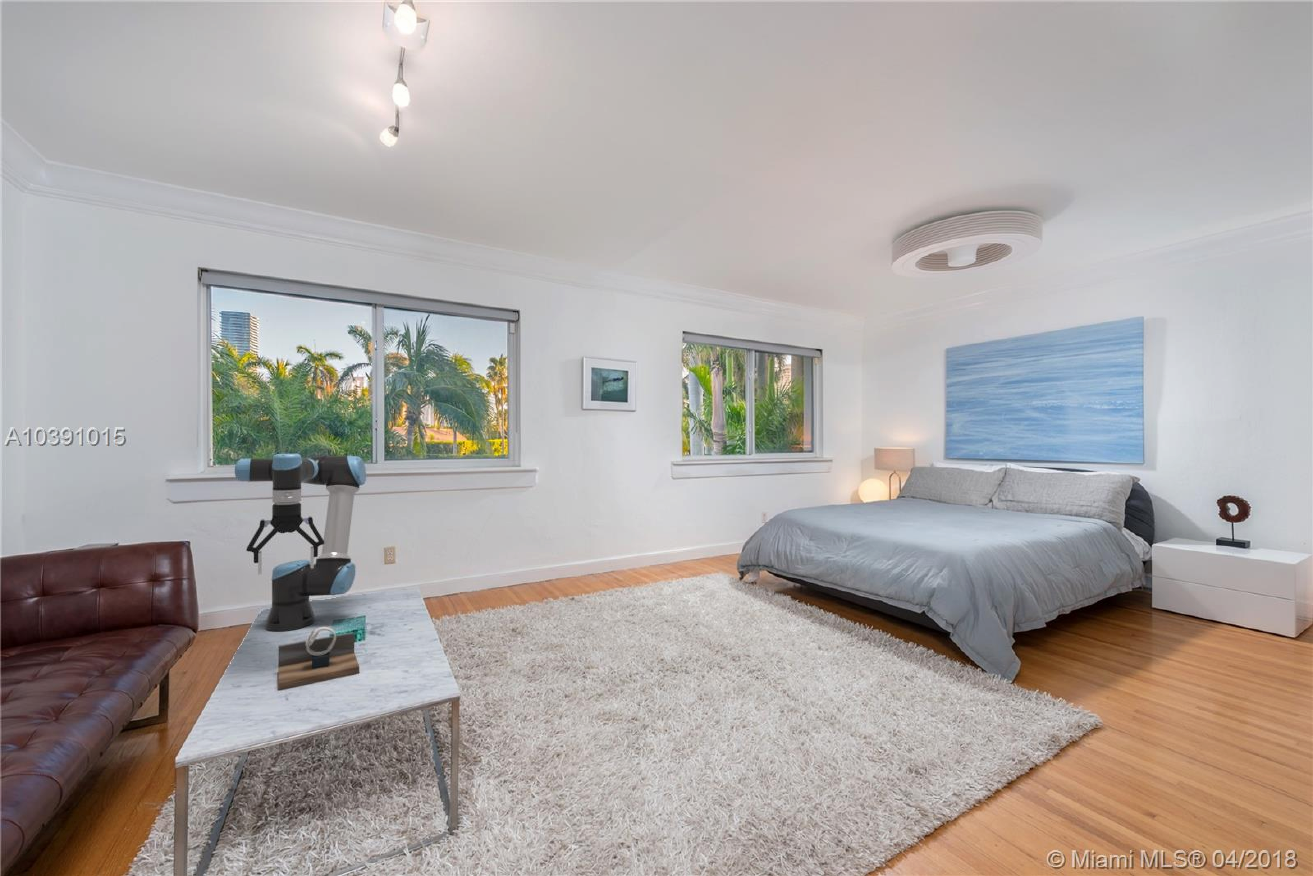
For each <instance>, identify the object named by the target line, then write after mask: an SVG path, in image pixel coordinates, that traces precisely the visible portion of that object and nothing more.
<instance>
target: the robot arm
mask: <svg viewBox="0 0 1313 876" xmlns="http://www.w3.org/2000/svg"><path fill="white" fill-rule="evenodd" d="M366 471H367V469H366V466H365V463H364V460H363V459H362V458H361V457H360V456H357V455H356V456H355V455H353V456H352V455H318V456H317V455H315V456H308V457H302V456H301V454H299V453H277V454H274V455H273V456H272V458H251V457H250V458H241V459H238V461H236V463H235V465H234V477H235V478H236V479H237V480H238V481H240V482H248V483H251V482H252V483H253V482H256V483H257V482H272V495H271V496H272V499H271V500H272V503H273V505H272V509H271V510H272V512H271V513H272V514H271V515H272V516H271V520H270V519H268V520H266V519H263V518H262V519H260V521H259V527H258V528H257V529H256V532H255V533H254V535H253V537H252V538H251V539H250V542H249V544H248V545H247V546H246V552H248V553H249V552H250V553H253V563H254V564H257V566H258V568H257V570H258V571H257V572H258V573H257V575H262V560H263V557H262V552H263V551H261V550H262V549H263V547H265V545H267V544H268V542H269V541H270V540H271V539H272V538H273V537H274V536H275V535H276V534H277V533H279V534H285V533H289V534H290V533H294V532H297V533H298V534H299V535H301V537H303V538H304V539H305V540H306V541H307V542H308V543H309V544H310V545H311V546H310V555H309V556H310V557H309V558H310V560H309V559H297V560H293V561H289V562H285V563H282V564H278V565H276V566H274V568H273V569H272V572H271V573H272V574H271V607H270V610H269V613H268V616H267V618H266V622H265V629H266V630H267V631H271V632H287V631H295V630H298V629H302V628H305V627H308V626H310V625H312V624H314V622H315V613H314V610H313V608H312V605H311V603H310V597H316V596H319V597H320V596H321V597H323V596H333V597H334V596H338V595H345V594H347V593H348V592H349V590H350V589H351V588H352V586H353V584H354V580H355V577H356V564H355V563H353V562H352V558H351V557H350V556H349V555H348V551H349V543H350V533H351V524H352V516H353V508H354V499H355V494H356V493H357V492H359V491H360V486H364V485H365V483H366V481H367V472H366ZM302 483H303V484H309V485H315V486H316V485H317V486H325V490H326V491H328V492H329V494H328V495H329V496H328V502H327V510H326V519H325V525H324V526H325V527H324V532H323V537H322V535H321V533H320V532H319V531H318V529H317V527H316V526H315V524H314V519H313V516H311V515H309V516H307V517H302V503H301V502H302ZM303 522H304V523H305V525H308V526H309V529H310V530H311V531H312V533H313V534H314V536H315V538H316V539H317V541H315V539H313V538H312V537H311V536H310V535H309V534H308V533H307V532H306V531H305V530H304V529H303V528H302V527H301V525H302V523H303ZM268 525H271V526H272V527H273V528H272V529H271V531H270V532H269V533H268V534H267V535H266V536H265V537H264V538H263V539H262V540H261V541H260V542H259V543H258V544H257V545H256V547H254V546H255V544H256V543H257V541H258V540H259V538H260V536H261V534H262V533H263V531H264V528H267V527H268ZM320 546H321V547H322V549H321V553H320V555H319V547H320ZM318 555H319V556H318ZM315 558H316V559H315Z"/></svg>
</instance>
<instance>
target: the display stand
mask: <svg viewBox="0 0 1313 876" xmlns="http://www.w3.org/2000/svg"><path fill="white" fill-rule="evenodd" d="M333 637H334V635H332V636H326V637H320V638H316V639H315V640H314V642H313V643H312V645H311V646H309V648H310V649H311V650H312V651H314V652H317V651H323V650H327V649H328V647H329V646H330V644H331V643H332V640H333ZM306 641H307V640H303V641H298V642H291V643H287V644H285V643H284V644H281V645H280V644H279V645H278V654H277V655H278V657H277V658H278V659H277V660H278V662H277V663H278V665H277V666H278V667H277V669H278V670H277V671H278V672H277V673H278V678H277V679H278V680H277V681H278V691H281V690H287V689H292V688H296V687H300V686H305V685H310V684H315V683H319V682H324V681H330V680H333V679H339V678H343V677H348V676H352V675H353V676H354V675H357V673H358V674H360V664H359V662H358V658H357V656H356V653H355V632H350V633H343V634H338V635H337V634H336V641H335V644H334V646H333V647H332V649H331V650H330V661H329V666H328V667H322V668H316V669H312V656H313V655H312V654H310V653H309V652H308V651H307V649H306V647H307V645H306V646H305V643H306Z"/></svg>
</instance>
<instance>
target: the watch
mask: <svg viewBox="0 0 1313 876" xmlns="http://www.w3.org/2000/svg"><path fill="white" fill-rule="evenodd" d="M321 631H328V632H331V633H332V636H334V637H333V640H332V643H331V644H330V646H329V647H328V649H327V650H323V651H317V652H314V651H312V650H311V649H310V648H309V646H311V645H312V643H313V642H314V640H315V639H317V637H318V635H319V633H320V632H321ZM336 635H337V634H336V632H335V630H334V629H332V628H331V627H329V626H319V627H317V628H316V629H315V628H314V629H313V630H312V632H311V633H310V634H309V635H308V638H307V640H305V641H306V643H305V646H306V645H307V647H306V649H307V651H308V652H309V653H310V654H312V655H313V656H312V669H316V668H322V667H328V666H329V661H330V650H331V649H332V647H333V646H334V644H335V641H336Z"/></svg>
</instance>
